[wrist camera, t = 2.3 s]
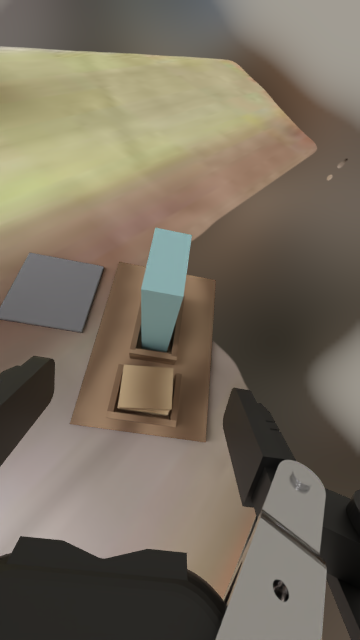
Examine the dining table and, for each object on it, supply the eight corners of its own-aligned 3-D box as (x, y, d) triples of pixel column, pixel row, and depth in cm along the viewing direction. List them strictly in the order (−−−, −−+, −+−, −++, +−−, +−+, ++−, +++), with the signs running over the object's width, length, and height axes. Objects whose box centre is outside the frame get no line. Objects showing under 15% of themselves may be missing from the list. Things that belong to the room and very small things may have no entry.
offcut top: (120, 408, 23) (117, 406, 21) (125, 370, 24) (123, 364, 22) (169, 411, 23) (171, 409, 21) (171, 373, 25) (173, 368, 23)
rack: (72, 424, 24) (63, 423, 21) (119, 265, 33) (117, 250, 31) (203, 441, 25) (211, 443, 22) (214, 283, 34) (220, 270, 32)
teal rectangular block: (141, 348, 28) (141, 289, 16) (150, 305, 30) (155, 227, 19) (166, 352, 28) (183, 296, 16) (173, 309, 31) (191, 235, 19)
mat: (-4, 318, 28) (-6, 317, 27) (30, 254, 32) (29, 252, 32) (82, 332, 28) (81, 331, 28) (103, 268, 33) (103, 266, 32)
